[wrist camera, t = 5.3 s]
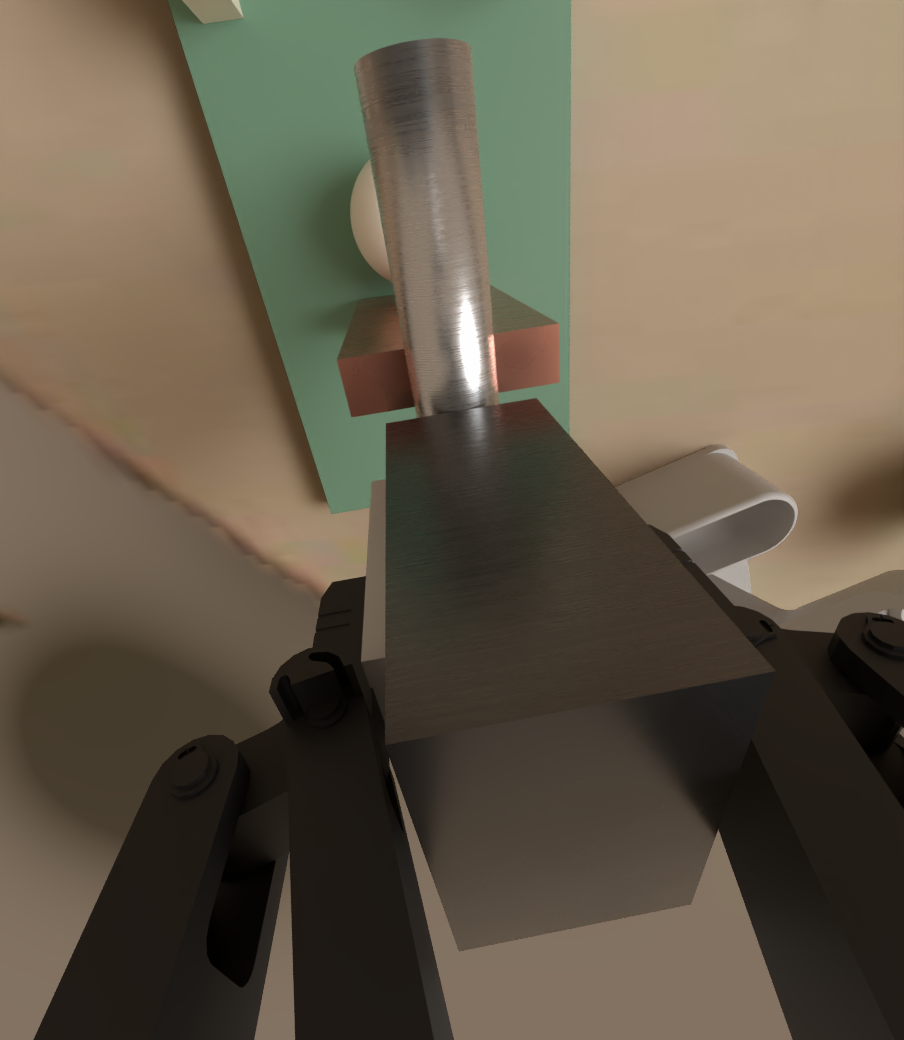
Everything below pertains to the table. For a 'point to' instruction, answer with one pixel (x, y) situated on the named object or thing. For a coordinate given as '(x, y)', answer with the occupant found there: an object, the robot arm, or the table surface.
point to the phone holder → (744, 535)
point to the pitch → (341, 156)
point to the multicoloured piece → (522, 576)
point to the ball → (368, 222)
